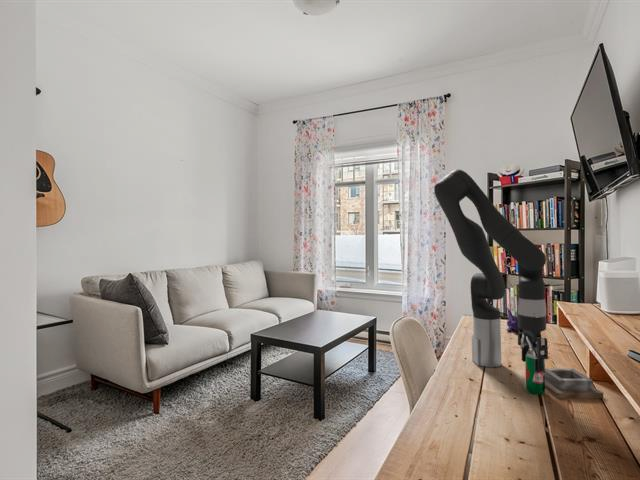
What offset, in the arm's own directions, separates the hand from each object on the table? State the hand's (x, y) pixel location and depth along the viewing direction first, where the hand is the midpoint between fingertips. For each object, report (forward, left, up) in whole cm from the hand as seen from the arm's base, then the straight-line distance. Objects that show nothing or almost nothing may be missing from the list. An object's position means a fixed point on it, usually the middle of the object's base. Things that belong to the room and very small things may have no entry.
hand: (532, 366), depth 113 cm
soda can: (+1, 0, -8) cm, 8 cm away
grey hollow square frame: (+11, +3, -8) cm, 14 cm away
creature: (+26, +69, -8) cm, 74 cm away
